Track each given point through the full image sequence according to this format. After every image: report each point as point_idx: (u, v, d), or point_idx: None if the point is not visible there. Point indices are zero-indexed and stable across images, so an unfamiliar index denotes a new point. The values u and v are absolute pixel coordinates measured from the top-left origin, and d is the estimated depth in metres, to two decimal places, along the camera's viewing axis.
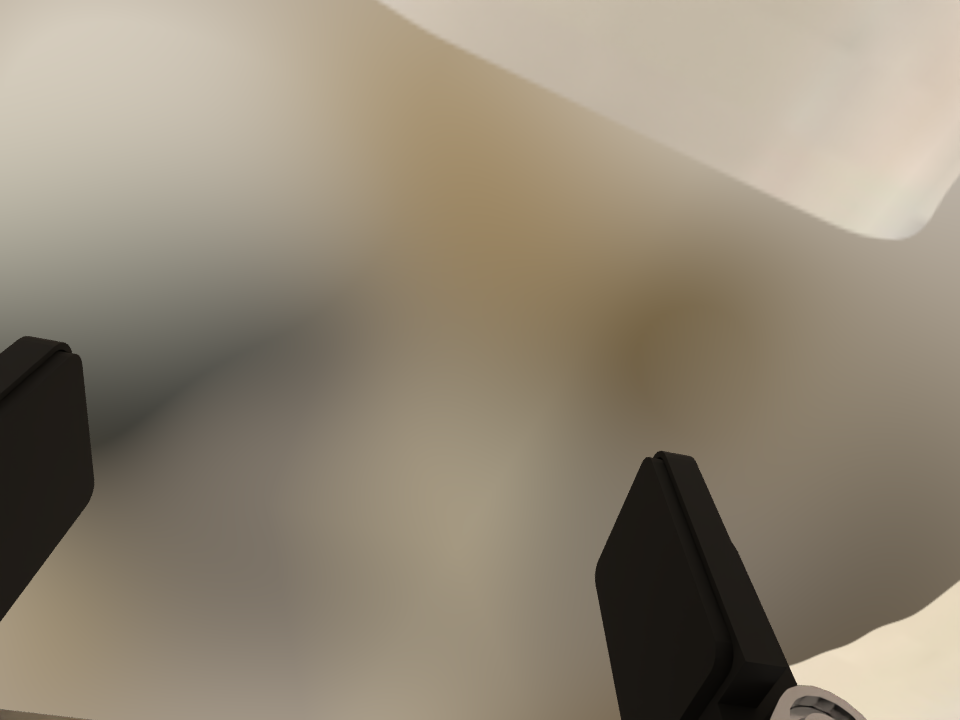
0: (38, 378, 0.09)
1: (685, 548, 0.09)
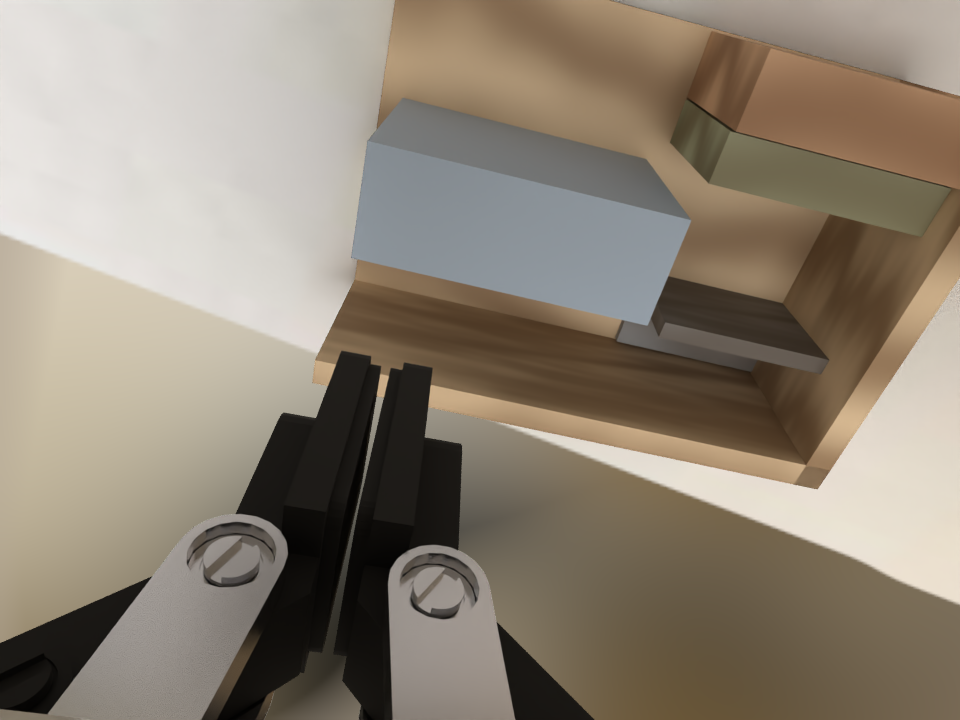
0: (369, 387, 0.10)
1: (377, 436, 0.09)
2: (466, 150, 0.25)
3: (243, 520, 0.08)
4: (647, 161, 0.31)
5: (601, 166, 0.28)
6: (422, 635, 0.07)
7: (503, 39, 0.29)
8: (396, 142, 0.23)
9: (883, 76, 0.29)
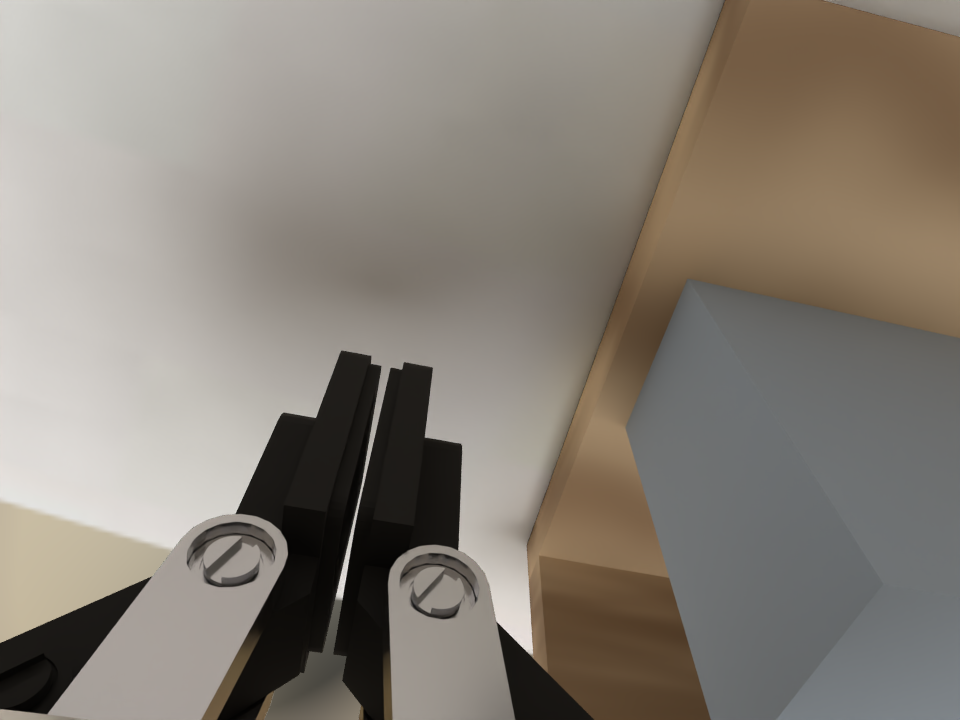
0: (369, 387, 0.10)
1: (377, 436, 0.09)
2: None
3: (243, 520, 0.08)
4: None
5: None
6: (422, 635, 0.07)
7: (923, 171, 0.14)
8: (919, 550, 0.08)
9: None
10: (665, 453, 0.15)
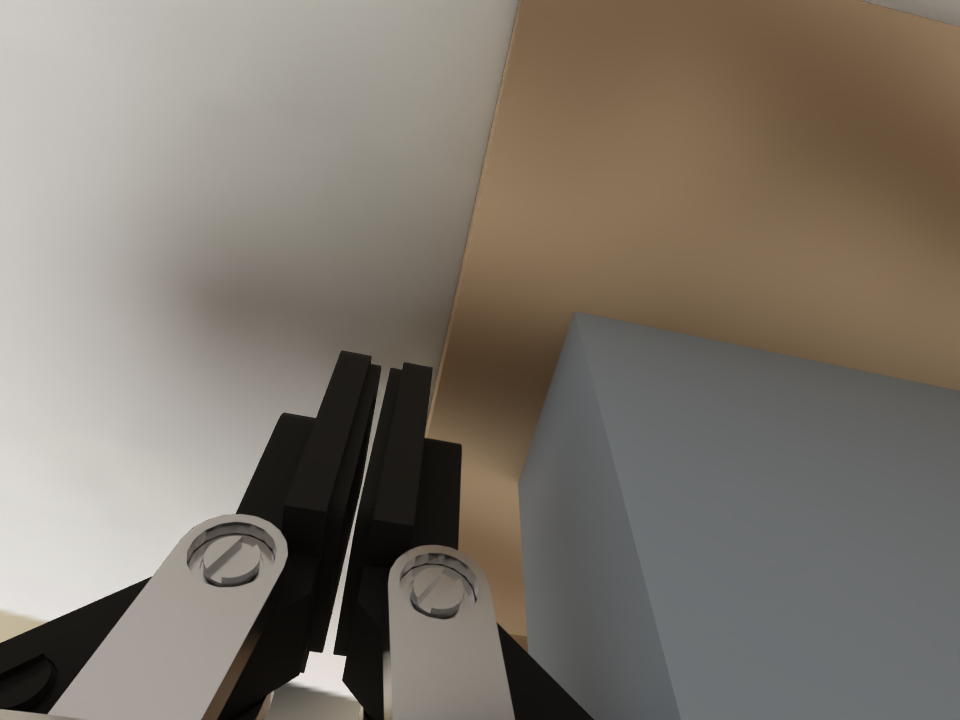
0: (369, 387, 0.10)
1: (377, 436, 0.09)
2: (949, 654, 0.07)
3: (243, 520, 0.08)
4: None
5: None
6: (422, 635, 0.07)
7: (784, 162, 0.11)
8: None
9: None
10: (541, 527, 0.12)
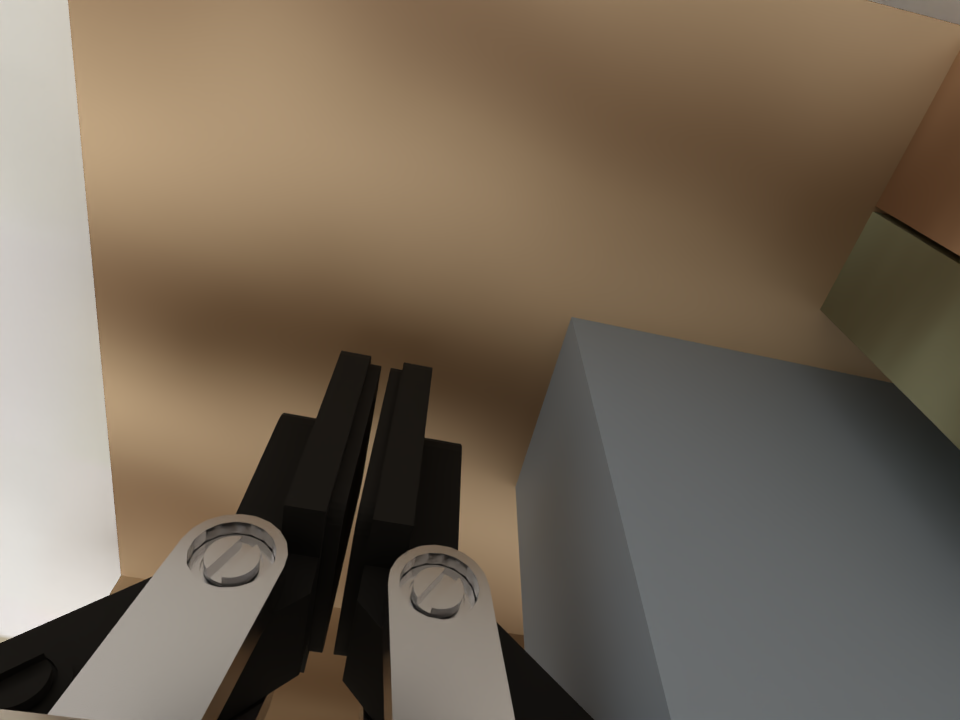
0: (369, 387, 0.10)
1: (377, 436, 0.09)
2: (940, 661, 0.07)
3: (243, 520, 0.08)
4: None
5: None
6: (422, 635, 0.07)
7: (389, 68, 0.11)
8: None
9: None
10: (538, 532, 0.12)
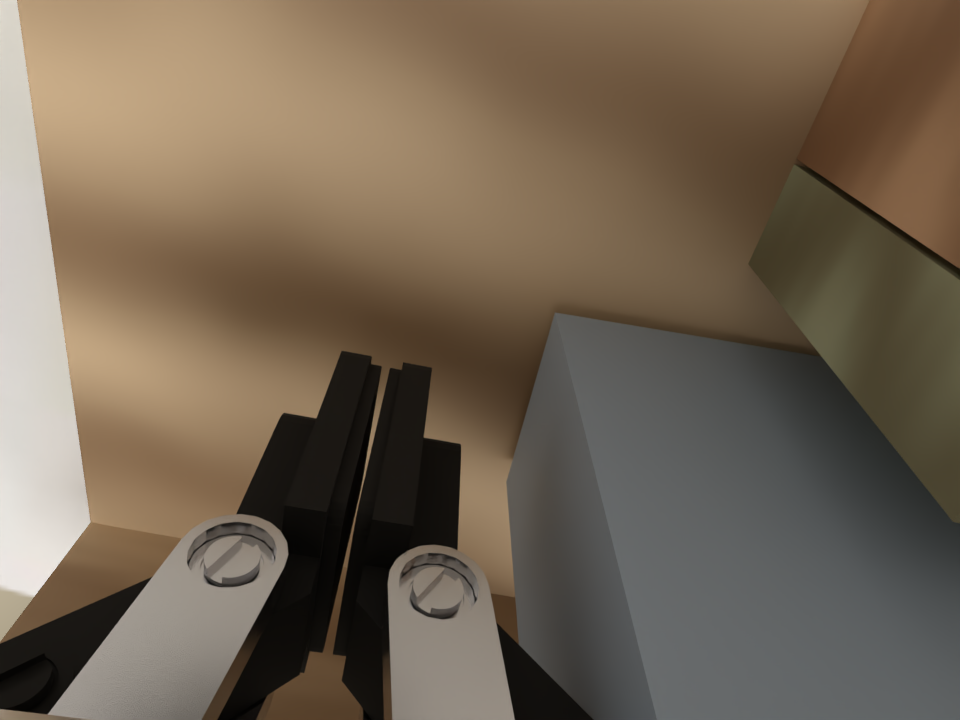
0: (370, 387, 0.10)
1: (376, 436, 0.09)
2: (922, 648, 0.07)
3: (244, 520, 0.08)
4: None
5: None
6: (422, 635, 0.07)
7: (315, 20, 0.11)
8: None
9: None
10: (528, 528, 0.12)
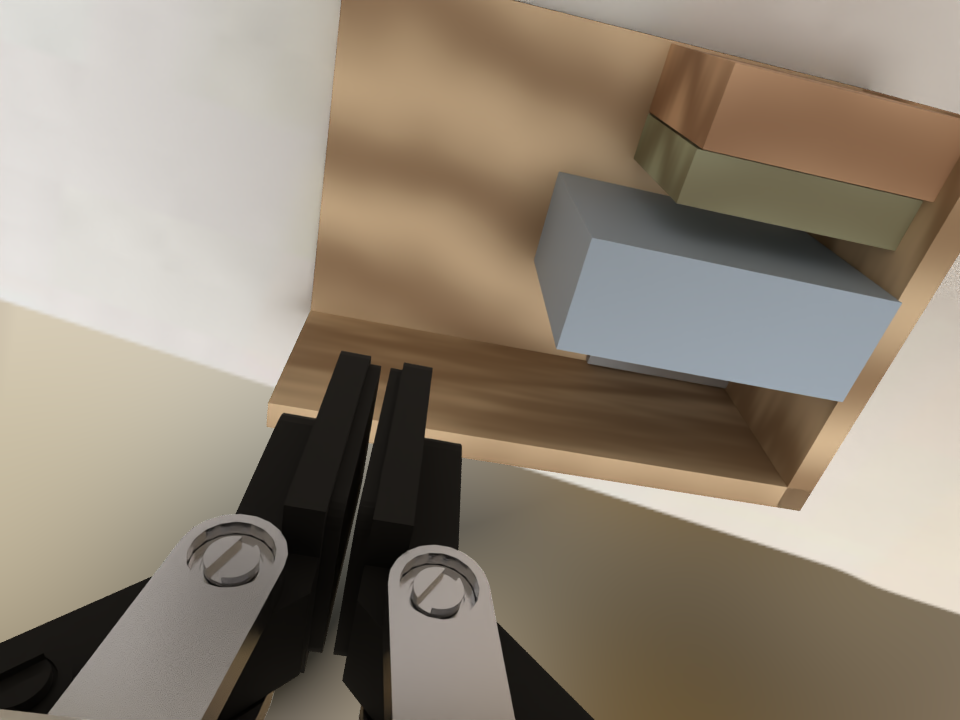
0: (369, 387, 0.10)
1: (377, 436, 0.09)
2: (668, 237, 0.25)
3: (243, 520, 0.08)
4: None
5: (776, 240, 0.28)
6: (422, 635, 0.07)
7: (456, 55, 0.28)
8: (613, 235, 0.23)
9: (846, 85, 0.29)
10: (546, 256, 0.29)
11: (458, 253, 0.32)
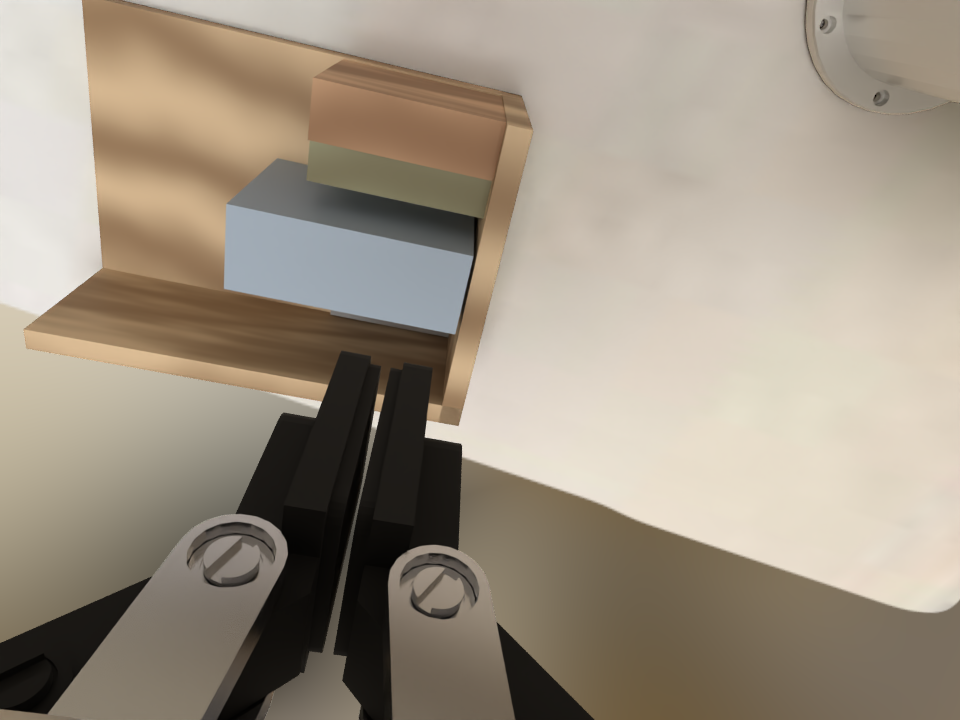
0: (369, 387, 0.10)
1: (377, 436, 0.09)
2: (309, 206, 0.33)
3: (243, 520, 0.08)
4: None
5: (425, 212, 0.36)
6: (422, 635, 0.07)
7: (179, 68, 0.36)
8: (250, 203, 0.32)
9: (487, 92, 0.37)
10: None
11: (211, 223, 0.41)
